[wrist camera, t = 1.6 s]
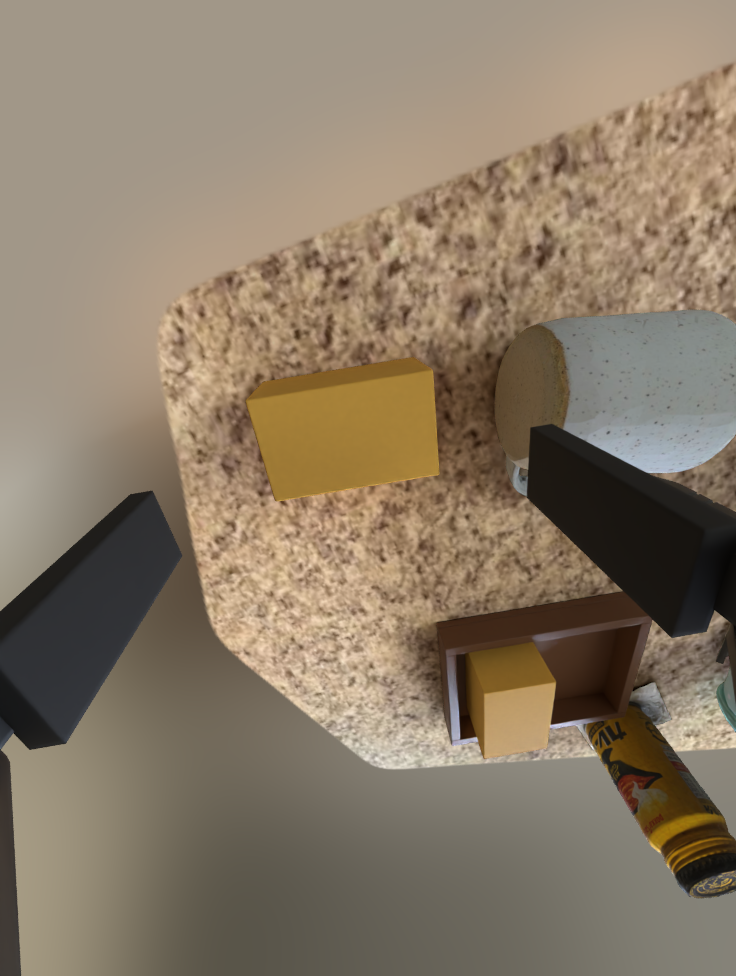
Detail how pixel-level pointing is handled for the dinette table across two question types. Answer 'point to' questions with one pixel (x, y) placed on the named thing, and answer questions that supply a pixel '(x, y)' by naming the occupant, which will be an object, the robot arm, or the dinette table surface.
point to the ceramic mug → (622, 387)
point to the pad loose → (346, 428)
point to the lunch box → (727, 700)
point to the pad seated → (509, 699)
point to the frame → (553, 656)
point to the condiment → (665, 796)
